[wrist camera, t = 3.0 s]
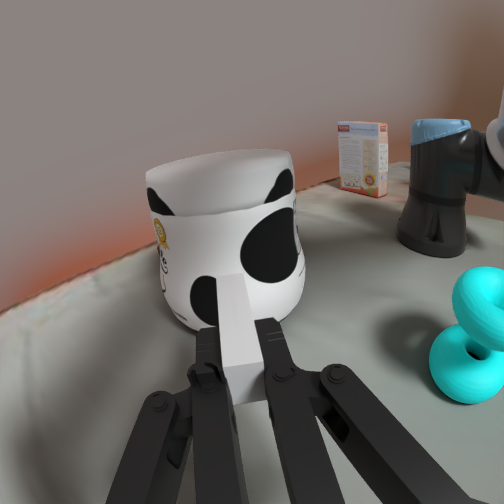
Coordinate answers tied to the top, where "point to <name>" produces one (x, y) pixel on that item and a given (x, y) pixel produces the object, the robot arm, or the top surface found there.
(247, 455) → the top surface
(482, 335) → the donuts
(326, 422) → the robot arm
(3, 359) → the top surface
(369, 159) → the cracker box
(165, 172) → the milk container
